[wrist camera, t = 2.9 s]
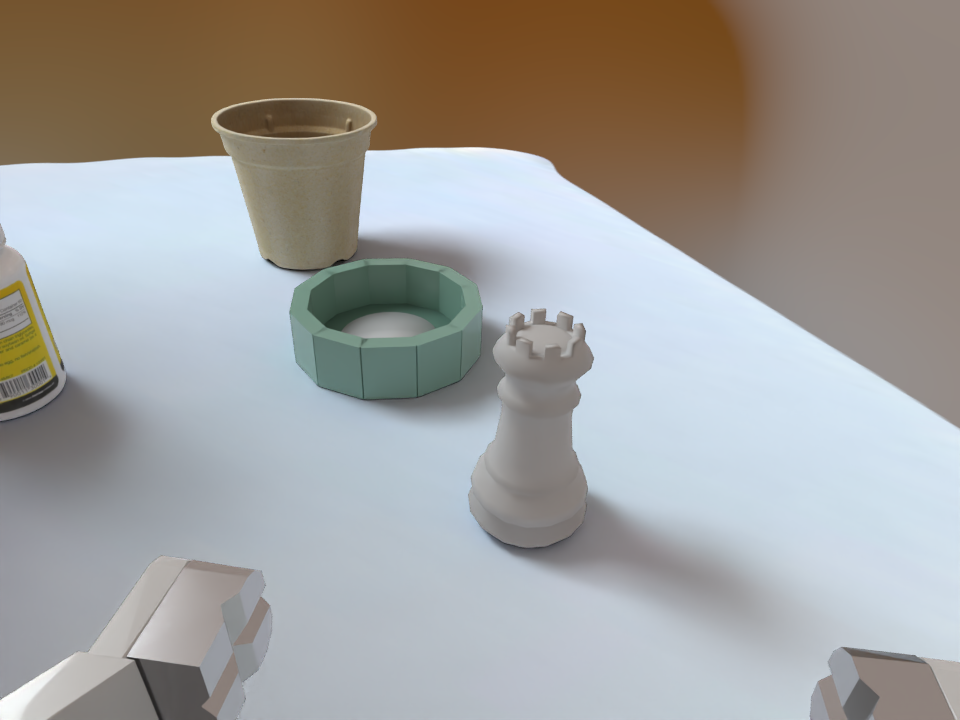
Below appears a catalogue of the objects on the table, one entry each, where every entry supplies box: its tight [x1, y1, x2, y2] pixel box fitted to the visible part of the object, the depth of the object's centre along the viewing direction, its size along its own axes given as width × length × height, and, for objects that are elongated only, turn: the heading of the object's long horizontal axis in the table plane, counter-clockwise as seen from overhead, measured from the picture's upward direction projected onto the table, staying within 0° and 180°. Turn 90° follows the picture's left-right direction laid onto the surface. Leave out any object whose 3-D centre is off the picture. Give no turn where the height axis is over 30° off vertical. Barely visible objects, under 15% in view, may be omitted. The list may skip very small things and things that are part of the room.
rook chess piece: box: [468, 309, 594, 548], centre depth 23 cm, size 4×4×8 cm
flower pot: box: [211, 98, 377, 270], centre depth 42 cm, size 9×9×9 cm
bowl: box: [290, 258, 483, 400], centre depth 34 cm, size 9×9×3 cm
